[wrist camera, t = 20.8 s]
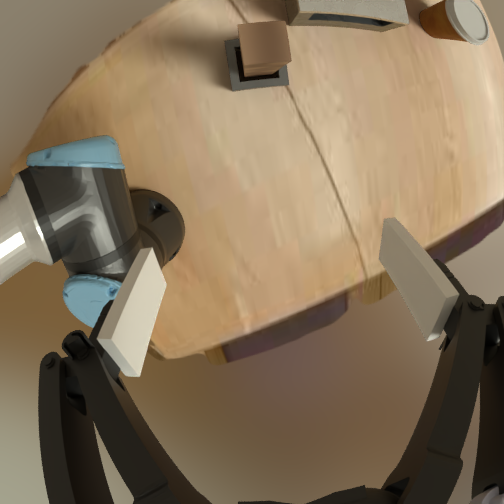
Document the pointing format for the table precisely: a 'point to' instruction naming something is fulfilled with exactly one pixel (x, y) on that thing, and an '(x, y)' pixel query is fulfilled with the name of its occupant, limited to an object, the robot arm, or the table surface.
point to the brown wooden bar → (263, 47)
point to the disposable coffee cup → (456, 21)
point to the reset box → (348, 13)
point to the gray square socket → (237, 85)
